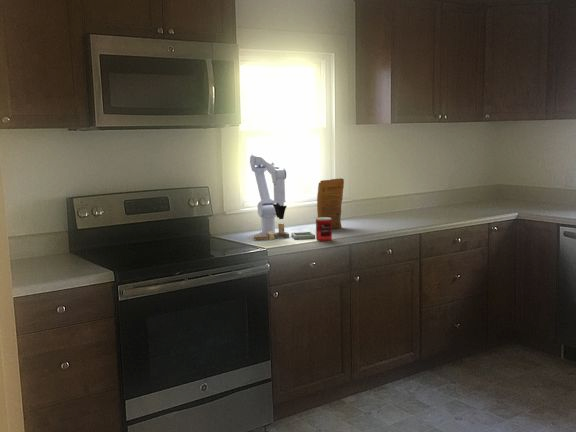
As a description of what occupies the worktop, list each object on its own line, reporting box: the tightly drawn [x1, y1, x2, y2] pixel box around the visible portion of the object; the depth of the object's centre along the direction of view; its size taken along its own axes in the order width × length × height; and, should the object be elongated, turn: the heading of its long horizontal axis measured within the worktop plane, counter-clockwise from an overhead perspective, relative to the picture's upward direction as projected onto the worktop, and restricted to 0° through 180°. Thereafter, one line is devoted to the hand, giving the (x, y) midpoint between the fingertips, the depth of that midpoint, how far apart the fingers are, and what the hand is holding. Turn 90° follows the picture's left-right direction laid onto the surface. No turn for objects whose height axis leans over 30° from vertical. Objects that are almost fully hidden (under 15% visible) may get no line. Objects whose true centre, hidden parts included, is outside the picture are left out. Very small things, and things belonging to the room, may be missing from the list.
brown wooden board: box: [253, 233, 268, 242], centre depth 332 cm, size 9×6×2 cm, turn 8°
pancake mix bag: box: [316, 178, 345, 230], centre depth 360 cm, size 7×19×28 cm, turn 121°
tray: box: [291, 231, 316, 240], centre depth 333 cm, size 12×10×2 cm
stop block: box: [267, 232, 275, 241], centre depth 333 cm, size 8×2×3 cm, turn 9°
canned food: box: [315, 217, 333, 242], centre depth 322 cm, size 8×8×11 cm
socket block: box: [274, 231, 290, 239], centre depth 337 cm, size 7×7×2 cm
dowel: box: [277, 222, 285, 234], centre depth 336 cm, size 3×3×7 cm
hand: (280, 218), depth 335 cm, fingers open, 7 cm apart
